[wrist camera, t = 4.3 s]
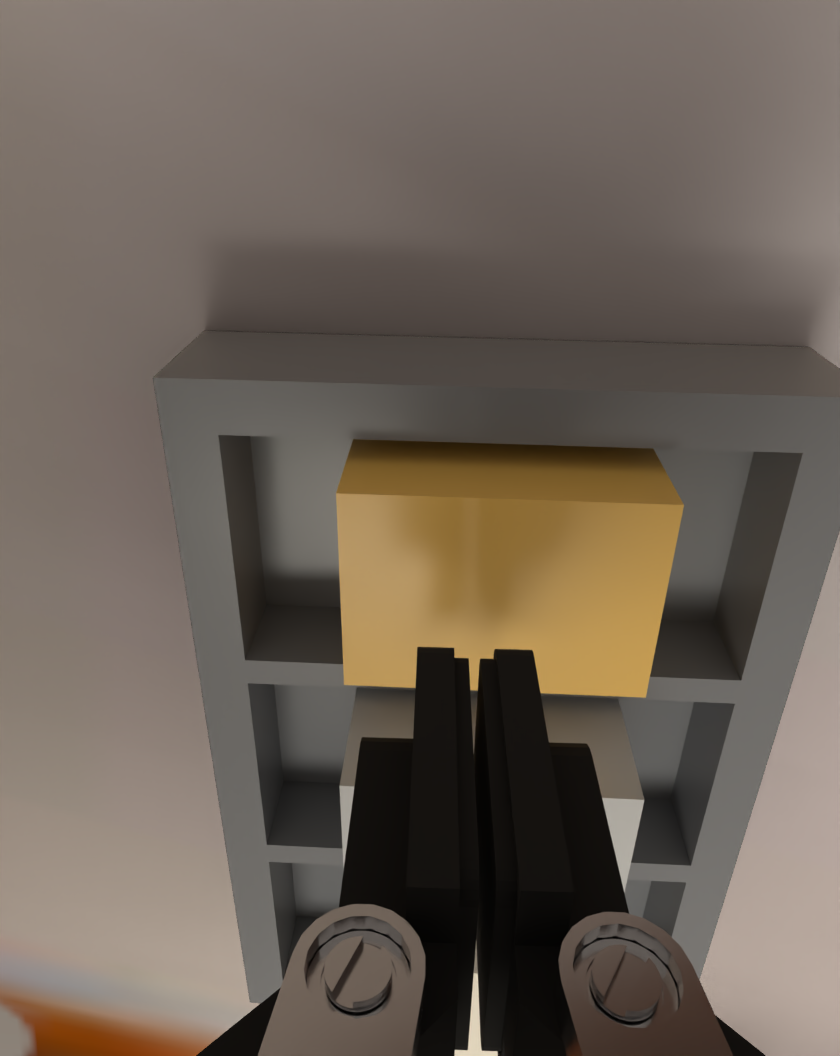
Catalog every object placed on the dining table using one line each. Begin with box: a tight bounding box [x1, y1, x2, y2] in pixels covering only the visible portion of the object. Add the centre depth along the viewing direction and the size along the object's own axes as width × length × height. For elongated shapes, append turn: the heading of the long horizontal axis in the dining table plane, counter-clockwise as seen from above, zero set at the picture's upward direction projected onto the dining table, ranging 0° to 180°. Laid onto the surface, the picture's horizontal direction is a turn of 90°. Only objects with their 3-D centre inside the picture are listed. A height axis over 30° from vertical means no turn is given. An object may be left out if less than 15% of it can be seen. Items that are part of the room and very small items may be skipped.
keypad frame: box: [153, 331, 840, 1003], centre depth 19 cm, size 18×12×3 cm, turn 179°
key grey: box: [339, 688, 644, 893], centre depth 17 cm, size 4×6×3 cm
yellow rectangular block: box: [336, 439, 684, 698], centre depth 15 cm, size 4×6×3 cm
